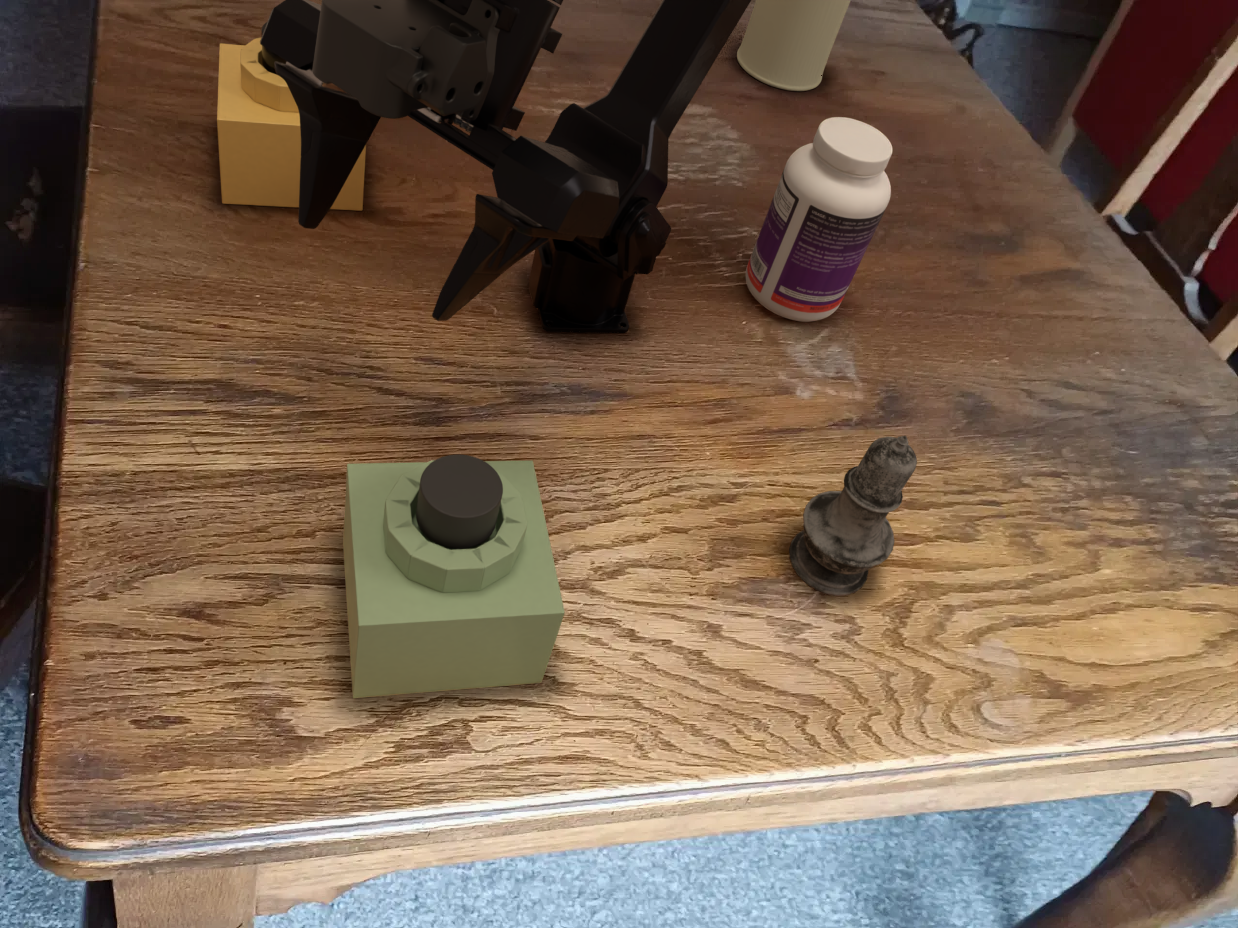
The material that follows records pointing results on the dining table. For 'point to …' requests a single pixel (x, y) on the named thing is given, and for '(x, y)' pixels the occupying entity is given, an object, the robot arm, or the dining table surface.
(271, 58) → the back button
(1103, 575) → the dining table surface
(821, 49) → the can
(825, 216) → the pill bottle
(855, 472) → the chess piece
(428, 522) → the front button
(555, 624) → the green push button box
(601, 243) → the robot arm
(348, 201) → the yellow push button box
